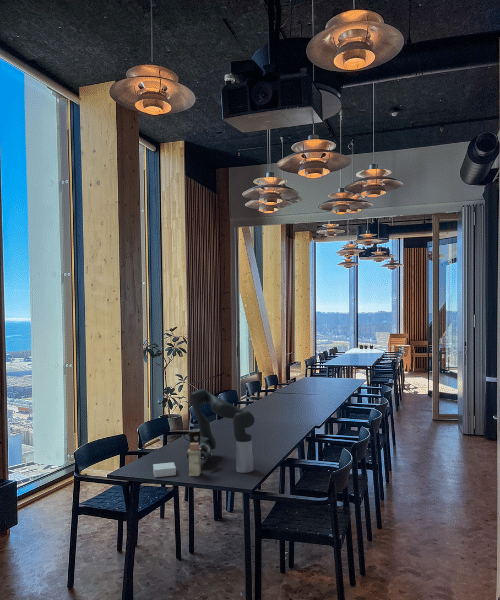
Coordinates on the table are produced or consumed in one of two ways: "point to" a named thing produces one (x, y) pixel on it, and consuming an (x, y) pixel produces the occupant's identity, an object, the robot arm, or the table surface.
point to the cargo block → (194, 446)
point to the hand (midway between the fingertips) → (197, 458)
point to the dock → (164, 469)
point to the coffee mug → (194, 436)
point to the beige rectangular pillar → (194, 462)
